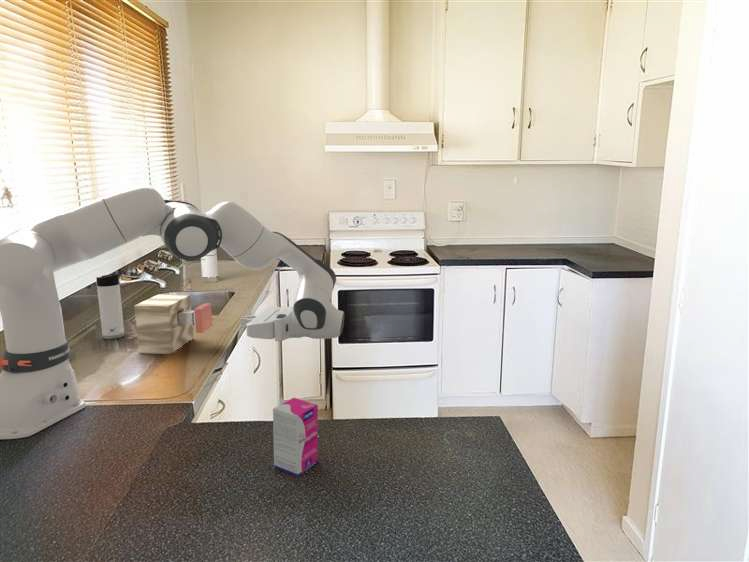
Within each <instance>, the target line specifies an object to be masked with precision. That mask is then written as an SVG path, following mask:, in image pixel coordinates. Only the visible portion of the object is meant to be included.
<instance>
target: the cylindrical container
mask: <svg viewBox="0 0 749 562" xmlns="http://www.w3.org/2000/svg"><path fill="white" fill-rule="evenodd" d="M200 266H201V267H200V268H201V278H202V277H208V278H209V277H216V276H218V277H219V269H218V267H219V266H218V255H217V248H216V249H215V250H213V251H211V252H209V253H208V254H207V255H205V256H204V257H202V258H200Z"/></svg>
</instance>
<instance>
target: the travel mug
mask: <svg viewBox="0 0 749 562" xmlns="http://www.w3.org/2000/svg"><path fill="white" fill-rule="evenodd" d="M119 278H120V277H119V273H111V274H105V275H101V276H100V277H96V287H97V288H96V289H97V298H98V307H99V316H100V325H101V335H102V338H103V339H105V340H114V339H119V338H123V337H124V336H125V325H124V317H123V308H122V306H123V305H122V298H121V297H122V296H121V287H120V279H119Z"/></svg>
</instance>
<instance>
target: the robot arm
mask: <svg viewBox="0 0 749 562" xmlns="http://www.w3.org/2000/svg"><path fill="white" fill-rule="evenodd" d="M145 236H157V237H158V236H159V237H160V239H161V242H163V244H164V245H165V247H166V249H167V250H168V252H169V253H170V254H171V255H173V256H174V257H176V258H177V259H180V260H183V261H185V262H186V261H187V262H191V261H198V260H201V258H202V257H204V256H205V255H207V254H208V253H209V252H211V251H213V250H215V249H216V250H217V249H218V248H221V249H222V250H223V251H225V252H226V254H228V255H229V256H230V257H231V258H232V259H233V260H234V261H236V262H237V264H239V265H240V266H242V267H244V268H245V269H248V270H252V271H253V270H262V269H264V268H266V267H268V266H270V265H272V264H273V263H274V262H276V261H277V260H278V259H279V260H281V261H282V262H283V263H285V265H287V266H289V267H290V268H291V269H293V270H294V272H295V271H296V272H297V275H298V278H299V283H298V287H297V290H296V293H295V297H294V300H293V301H294V302H293V305H292V306H281V307H280V306H279V307H278V306H269V307H266V308H265V309H264V310H262V311H261V312H260V313H258V314H254V315H244V316H243V317H241V318H240V321H239V323H240V325H244V326H246V336H247V337H249V338H253V339H259V340H260V339H262V340H263V339H264V340H273V339H274V341H275V342H282V341H285V340H287V339H292V338H295V339H300V338H310V339H316V340H317V339H322V340H325V339H327V340H328V339H336V338H338V337H340V336H341V334H342V333H343V330H344V324H345V323H344V322H345V312H344V311H343V310H339V309H338V308H337V307H336V306H334V304H333V302H332V301H331V299H332V295H333V291H334V288H335V285H336V282H337V276H336V273H335V271H334V269H332V268H331V267H330V266H329V265H328V264H326V263H324V262H321V261H320V260H318V259H316V258H315V257H314V256H312V255H310V254H309V253H308V251H305V249H304V248H302V247H300V246H299V245H298V244H297V243H296V242H294V241H293V240H292V239H290V238H289V237H288V236H285V235H284V234H283V233H280V232H277V231H271V230H270V229H268V228H267V227H266V226H265V225H264V224H262V223H261V222H260V221H259V220H258V219H257V218H256V217H255V216H254V215H253V214H252V213H251V212H249V211H247V210H246V208H243V207H242V206H241V205H239V204H237V203H235V202H234V201H228V200H226V201H222V202H220V203H218V204H216V205H215V206H214V207H212V208H211V210H208V211H205V212H203V211H200V210H199V209H198V208H197V207H196V206H195V205H194V204H192V203H189V202H187V201H184V200H183V201H181V200H171V199H170V200H169V199H165V198H164V197H163V196H162V194H160V193H159V191H158V190H156V189H155V188H153V187H152V186H148V185H141V186H136V187H130V188H127V189H123V190H119V191H116V192H114V193H113V192H112V193H111V194H108V195H105V196H102V197H100V198H97V199H95V200H92V201H90V202H88V203H85V204H83V205H80V206H78V207H75V208H73V209H70V210H68V211H65V212H62V213H59V214H57V215H55V216H51V217H50V218H47V219H44V220H42V221H41V220H40V221H38V222H36V223H34V224H32V225H29V226H26V227H24V228H20V229H18V230H15V231H13V232H12V233H10V234H9V235H7V236H5V237H3V238H1V239H0V316H1V320H2V321H1V322H2V329H3V334H4V340H5V341H4V342H5V348H6V349H5V350H4V352H3V353H4V354H3V357H1V358H0V369H1V370H2V371H1V372H0V440H13V439H14V440H15V439H22V438H28V437H30V436H32V435H35V434H36V433H39V432H40V431H42V430H44V429H46V428H48V427H50V426H53V425H54V424H56V423H58V422H59V421H61V420H64V419H65V418H67V417H69V416H71V415H73V414H75V413H78V412H79V411H81V410H83V409H85V408H86V406H87V405H86V402H85V400H84V399H82V397H81V393H80V388H79V385H78V381H77V380H78V379H77V377H76V372H75V370H74V369H73V367H72V365H71V363H70V361H69V358H70V346H69V341H68V340H67V339H66V335H65V333H66V332H65V327H64V318H63V317H64V316H63V310H62V305H61V302H60V299H59V294H58V289H57V286H56V285H57V284H56V281H55V274H54V273H55V272H57V271H59V270H62V269H65V268H68V267H70V266H73V265H75V264H76V265H77V264H79V263H81V262H84V261H85V262H86V261H88V260H91V259H94V258H96V257H99V256H101V255H104V254H105V253H107V252H111V251H112V250H116V248H117V249H118V248H119V247H121V246H124V245H126V244H129V243H131V242H133V241H135V240H137V239H138V238H141V237H145Z"/></svg>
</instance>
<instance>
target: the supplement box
mask: <svg viewBox="0 0 749 562" xmlns="http://www.w3.org/2000/svg"><path fill="white" fill-rule="evenodd" d="M318 411H319V407H318V404H317V403H312V402H309V401H306V400H303V399H299V398H296V397H293V398H290V399H289V400H287V401H285V402H283V403H281V404H279V405H277V406H275V407H273V408H272V422H273V423H272V424H273V425H272V428H273V429H272V430H273V432H272V433H273V468H274V467H276V468H278V469H280V470H279V471H281V470H283V471H282V472H284V471H285V472H284V473H286V472H287V474H289V473H290V474H289V475H291V474H292V475H291V476H295V477H297V476H298V477H300V476H301V475H302V474H303V473H305V472H307V470H309V469H310V468H312V467H313V466H315V465H316V464H318V462H319V459H318V457H319V456H318V453H319V449H318V448H319V440H318V439H319V438H318V437H319V434H318V433H319V432H318V429H319V428H318V427H319V426H318V425H319V422H318V421H319V418H318V417H319V416H318V415H319V412H318ZM314 464H315V465H314ZM276 468H275V469H276ZM278 469H277V470H278Z"/></svg>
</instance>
